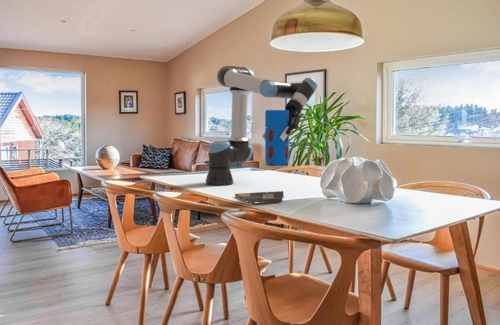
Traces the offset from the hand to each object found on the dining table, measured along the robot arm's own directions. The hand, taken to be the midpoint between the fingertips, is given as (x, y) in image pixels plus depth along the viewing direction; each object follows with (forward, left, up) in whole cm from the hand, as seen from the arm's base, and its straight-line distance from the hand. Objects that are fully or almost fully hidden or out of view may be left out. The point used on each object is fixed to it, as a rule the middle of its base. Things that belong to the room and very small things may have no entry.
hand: (272, 138), depth 200 cm
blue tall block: (-1, +3, -12) cm, 13 cm away
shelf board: (+3, -8, -27) cm, 28 cm away
